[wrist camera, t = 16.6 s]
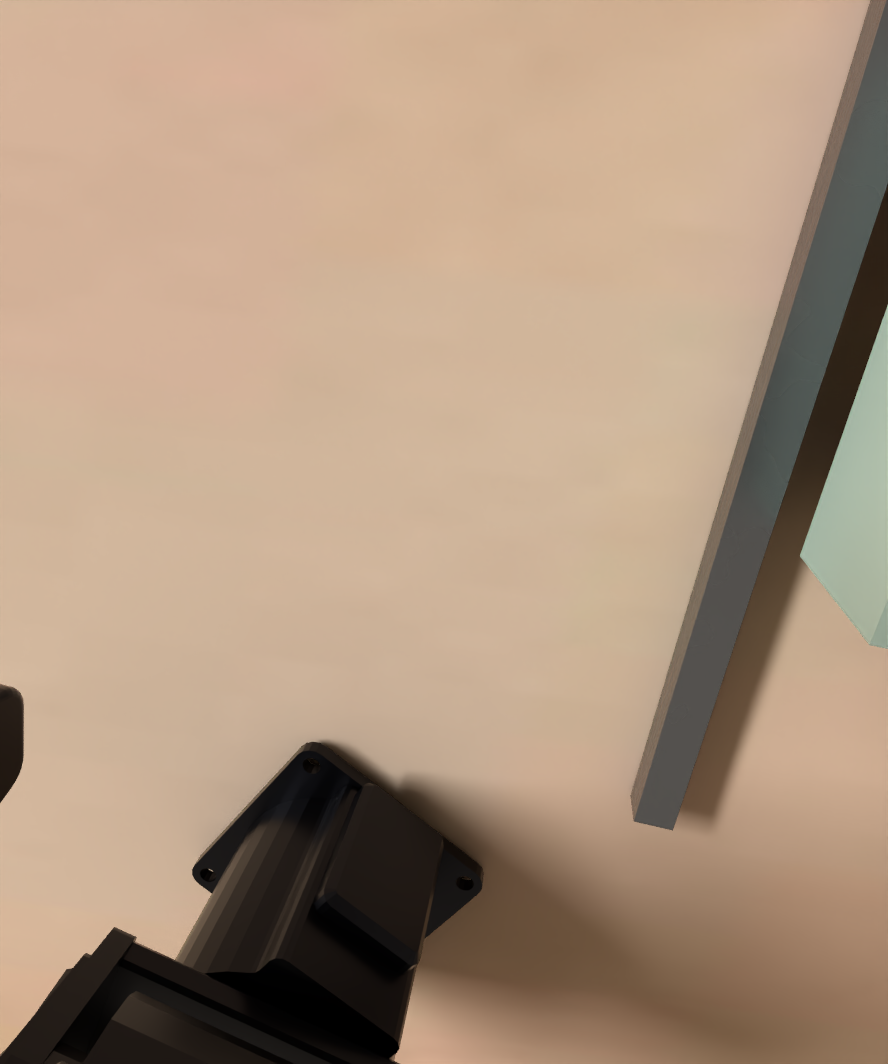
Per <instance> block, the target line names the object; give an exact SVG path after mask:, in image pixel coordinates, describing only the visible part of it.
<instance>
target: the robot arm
mask: <svg viewBox="0 0 888 1064" xmlns="http://www.w3.org/2000/svg"><path fill="white" fill-rule="evenodd" d="M23 753H24V704H23V698H22V695H21V693H20V692H19V691H18V690H17V689H15V688H13V687H10V686H6V685H2V684H0V803H1V801H2V800H3V798H4V797H5V796H6V794H7V793H8V792H9V790H10V789H11V787H12V786H13V784H14V783H15V781H16V779H17V777H18V775H19V773H20V770H21V767H22V763H23ZM308 758H313V759H315V760H317V761H318V762H319V763H320V765H314V764H312V763H310V761H309V760H308ZM209 869H211V870H213V872H212V871H210V870H209ZM192 875H193V877H194V879H195V880H196V881H197V882H198V883H199V884H200V885H201V886H203V887H204V888H205V889H207V890H208V891H209V892H211V893H212V895H211V896H210V898H209V900H208V902H207V904H206V905H205V907H204V909H203V911H202V913H201V914H200V916H199V918H198V920H197V922H196V923H195V925H194V927H193V929H192V931H191V932H190V934H189V936H188V938H187V939H186V941H185V943H184V945H183V947H182V948H181V950H180V952H179V954H178V956H177V957H176V959H175V960H174V959H171V958H169V957H167V956H165V955H163V954H161V953H158V952H156V951H154V950H152V949H150V948H147V947H145V946H143V945H141V944H139V943H137V942H135V941H136V938H137V937H135V936H133V935H131V934H128V933H126V932H124V931H122V930H120V929H118V928H115V927H114V928H113V929H112V930H111V932H110V933H109V934H108V935H107V937H106V938H105V939H104V940H103V942H102V943H101V944H100V945H99V947H98V948H97V949H96V950H95V951H94V953H93V954H92V955H89V954H87V953H86V954H84V955H83V957H82V958H81V959H80V960H79V961H78V963H77V964H76V965H75V966H74V968H72V969H66V971H65V972H64V974H63V975H62V977H61V978H60V979H59V981H58V982H57V984H56V985H55V987H54V988H53V989H52V991H51V992H50V994H49V995H48V996H47V998H46V999H45V1001H44V1002H43V1004H42V1005H41V1006H40V1008H39V1009H38V1011H37V1012H36V1013H35V1015H34V1016H33V1017H32V1019H31V1020H30V1021H29V1022H28V1023H27V1025H26V1026H25V1027H24V1028H23V1029H22V1031H21V1032H20V1033H19V1034H18V1036H17V1037H16V1038H15V1039H14V1040H13V1042H12V1043H11V1044H10V1045H9V1046H8V1048H7V1049H6V1050H4V1051H3V1052H2V1053H1V1054H0V1064H399V1063H397V1062H395V1061H394V1059H395V1054H396V1053H397V1051H398V1050H399V1047H400V1042H401V1038H402V1033H403V1028H404V1024H405V1019H406V1014H407V1009H408V1005H409V1000H410V995H411V990H412V986H413V981H414V976H415V972H416V967H417V964H418V962H419V961H420V957H421V953H422V948H423V943H424V939H425V938H426V937H427V936H428V935H430V934H431V933H432V932H433V931H434V930H436V929H437V928H438V927H439V926H440V925H442V924H443V923H444V922H445V921H446V920H448V919H449V918H450V917H451V916H452V915H454V914H455V913H456V912H457V911H458V910H459V909H461V908H462V907H463V906H464V905H465V904H467V903H468V902H469V901H470V900H471V899H473V898H474V897H475V896H476V895H477V894H478V893H479V892H480V891H481V889H482V883H483V875H484V873H483V870H482V867H481V866H480V865H479V864H478V863H477V862H475V861H474V860H473V859H472V858H470V857H469V856H468V855H466V854H465V853H464V852H462V851H461V850H460V849H459V848H457V847H456V846H455V845H453V844H452V843H451V842H449V841H448V840H447V839H446V838H444V837H443V836H442V835H440V834H439V833H438V832H437V831H435V830H434V829H433V828H431V827H430V826H429V825H428V824H426V823H425V822H424V821H422V820H421V819H420V818H418V817H417V816H416V815H415V814H413V813H412V812H411V811H409V810H408V809H407V808H406V807H404V806H403V805H402V804H400V803H399V802H398V801H396V800H395V799H394V798H393V797H391V796H390V795H389V794H387V793H386V792H385V791H383V790H382V789H381V788H380V787H378V786H377V785H376V784H374V783H373V782H372V781H370V780H369V779H368V778H366V777H365V776H364V775H363V774H361V773H360V772H359V771H357V770H356V769H355V768H354V767H352V766H351V765H350V764H348V763H347V762H346V761H344V760H343V759H342V758H341V757H339V756H338V755H337V754H335V753H334V752H333V751H331V750H330V749H329V748H328V747H326V746H324V745H323V744H321V743H317V742H310V743H306V744H305V745H303V746H302V747H301V748H300V749H299V750H298V751H297V752H296V753H295V754H294V755H293V756H292V758H291V759H290V760H289V761H288V762H287V763H286V764H285V765H284V766H283V767H282V768H281V769H280V770H279V772H278V773H277V774H276V775H275V776H274V777H273V778H272V779H271V780H270V781H269V782H268V783H267V785H266V786H265V787H264V788H263V789H262V790H261V791H260V792H259V793H258V794H257V795H256V796H255V797H254V799H253V800H252V801H251V802H250V803H249V804H248V805H247V806H246V807H245V808H244V809H243V810H242V811H241V813H240V814H239V815H238V816H237V817H236V818H235V819H234V820H233V821H232V822H231V823H230V824H229V825H228V827H227V828H226V829H225V830H224V831H223V832H222V833H221V834H220V835H219V836H218V837H217V838H216V839H215V841H214V842H213V843H212V844H211V845H210V846H209V847H208V848H207V849H206V850H205V851H204V852H203V853H202V855H201V856H200V857H199V859H198V861H197V862H196V864H195V865H194V867H193V869H192ZM461 876H467V877H469V878H471V879H470V880H465V879H462V878H461Z"/></svg>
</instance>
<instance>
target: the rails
mask: <svg viewBox="0 0 888 1064" xmlns="http://www.w3.org/2000/svg"><path fill="white" fill-rule="evenodd" d="M887 184H888V0H871V1H870V4H869V7H868V11H867V14H866V17H865V21H864V24H863V27H862V31H861V34H860V37H859V41H858V44H857V47H856V51H855V54H854V57H853V61H852V64H851V67H850V70H849V74H848V77H847V80H846V84H845V87H844V90H843V94H842V97H841V100H840V104H839V107H838V110H837V114H836V117H835V120H834V123H833V127H832V130H831V133H830V137H829V140H828V143H827V147H826V150H825V153H824V157H823V160H822V163H821V167H820V170H819V173H818V177H817V180H816V183H815V186H814V190H813V193H812V196H811V200H810V203H809V206H808V210H807V213H806V216H805V220H804V223H803V226H802V230H801V233H800V236H799V240H798V243H797V246H796V249H795V253H794V256H793V259H792V263H791V266H790V269H789V273H788V276H787V279H786V283H785V286H784V289H783V293H782V296H781V299H780V302H779V306H778V309H777V312H776V316H775V319H774V322H773V326H772V329H771V332H770V336H769V339H768V342H767V346H766V349H765V352H764V356H763V359H762V362H761V365H760V369H759V372H758V375H757V379H756V382H755V385H754V389H753V392H752V395H751V399H750V402H749V405H748V409H747V412H746V415H745V419H744V422H743V425H742V428H741V432H740V435H739V438H738V442H737V445H736V448H735V452H734V455H733V458H732V462H731V465H730V468H729V472H728V475H727V478H726V481H725V485H724V488H723V491H722V495H721V498H720V501H719V505H718V508H717V511H716V515H715V518H714V521H713V525H712V528H711V531H710V535H709V538H708V541H707V544H706V548H705V551H704V554H703V558H702V561H701V564H700V568H699V571H698V574H697V578H696V581H695V584H694V588H693V591H692V594H691V598H690V601H689V604H688V607H687V611H686V614H685V617H684V621H683V624H682V627H681V631H680V634H679V637H678V641H677V644H676V647H675V651H674V654H673V657H672V661H671V664H670V667H669V670H668V674H667V677H666V680H665V684H664V687H663V690H662V694H661V697H660V700H659V704H658V707H657V710H656V714H655V717H654V720H653V723H652V727H651V730H650V733H649V737H648V740H647V743H646V747H645V750H644V753H643V757H642V760H641V763H640V767H639V770H638V773H637V777H636V780H635V783H634V786H633V790H632V793H631V803H632V811H633V820H634V821H635V822H639V823H643V824H648V825H652V826H656V827H661V828H665V829H669V830H673V828H674V825H675V822H676V819H677V816H678V813H679V810H680V807H681V804H682V801H683V798H684V795H685V792H686V789H687V786H688V783H689V780H690V777H691V774H692V771H693V768H694V765H695V762H696V759H697V756H698V753H699V750H700V747H701V744H702V741H703V738H704V735H705V732H706V729H707V726H708V723H709V720H710V717H711V714H712V711H713V708H714V705H715V702H716V699H717V696H718V693H719V690H720V687H721V684H722V681H723V678H724V675H725V672H726V669H727V666H728V663H729V660H730V657H731V654H732V651H733V648H734V645H735V642H736V639H737V636H738V633H739V630H740V627H741V624H742V621H743V618H744V615H745V612H746V609H747V606H748V603H749V600H750V597H751V594H752V591H753V588H754V585H755V582H756V579H757V575H758V572H759V569H760V566H761V563H762V560H763V557H764V554H765V551H766V548H767V545H768V542H769V539H770V536H771V533H772V530H773V527H774V524H775V521H776V518H777V515H778V512H779V509H780V506H781V503H782V500H783V497H784V494H785V491H786V488H787V485H788V482H789V479H790V476H791V473H792V470H793V467H794V464H795V461H796V458H797V455H798V452H799V449H800V446H801V443H802V440H803V437H804V434H805V431H806V428H807V425H808V422H809V419H810V416H811V413H812V410H813V407H814V404H815V401H816V398H817V395H818V392H819V389H820V386H821V383H822V380H823V377H824V374H825V371H826V368H827V365H828V362H829V359H830V356H831V353H832V350H833V347H834V344H835V341H836V338H837V335H838V332H839V329H840V326H841V323H842V320H843V317H844V314H845V311H846V308H847V305H848V302H849V299H850V296H851V293H852V290H853V287H854V284H855V281H856V278H857V275H858V272H859V269H860V266H861V263H862V260H863V257H864V253H865V250H866V247H867V244H868V241H869V238H870V235H871V232H872V229H873V226H874V223H875V220H876V217H877V214H878V211H879V208H880V205H881V202H882V199H883V196H884V193H885V190H886V187H887Z"/></svg>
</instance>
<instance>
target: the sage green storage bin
mask: <svg viewBox="0 0 888 1064" xmlns="http://www.w3.org/2000/svg"><path fill="white" fill-rule="evenodd" d="M800 557H801V558H802V559H803V561H804V562H805V563H806V565H807V566H808V567H809V568H810V570H811V571H812V572H813V573H814V575H815V576H816V577H817V579H818V580H819V581H820V582H821V584H822V585H823V586H824V588H825V589H826V590H827V591H828V593H829V594H830V595H831V597H832V598H833V599H834V600H835V602H836V603H837V604H838V605H839V607H840V608H841V609H842V611H843V612H844V613H845V614H846V616H847V617H848V618H849V620H850V621H851V622H852V623H853V625H854V626H855V627H856V628H857V630H858V631H859V632H860V634H861V635H862V636H863V637H864V639H865V640H866V641H867V643H868V644H869V645H872V646H877V647H881V648H886V649H888V306H887V309H886V311H885V314H884V317H883V320H882V323H881V326H880V329H879V331H878V334H877V337H876V340H875V343H874V346H873V349H872V351H871V354H870V357H869V360H868V363H867V366H866V369H865V371H864V374H863V377H862V380H861V383H860V386H859V389H858V391H857V394H856V397H855V400H854V403H853V406H852V409H851V411H850V414H849V417H848V420H847V423H846V426H845V429H844V431H843V434H842V437H841V440H840V443H839V446H838V449H837V451H836V454H835V457H834V460H833V463H832V466H831V468H830V471H829V474H828V477H827V480H826V483H825V486H824V488H823V491H822V494H821V497H820V500H819V503H818V506H817V508H816V511H815V514H814V517H813V520H812V523H811V526H810V528H809V531H808V534H807V537H806V540H805V543H804V546H803V548H802V551H801V554H800Z"/></svg>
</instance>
